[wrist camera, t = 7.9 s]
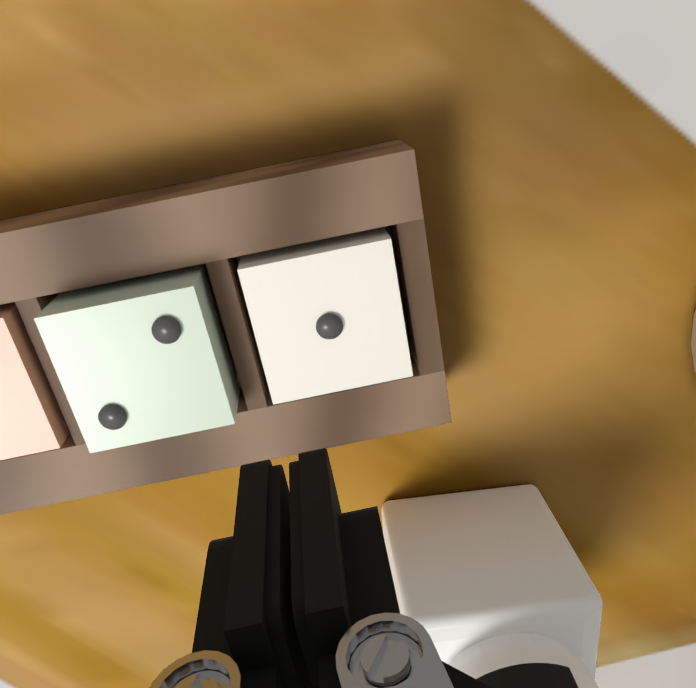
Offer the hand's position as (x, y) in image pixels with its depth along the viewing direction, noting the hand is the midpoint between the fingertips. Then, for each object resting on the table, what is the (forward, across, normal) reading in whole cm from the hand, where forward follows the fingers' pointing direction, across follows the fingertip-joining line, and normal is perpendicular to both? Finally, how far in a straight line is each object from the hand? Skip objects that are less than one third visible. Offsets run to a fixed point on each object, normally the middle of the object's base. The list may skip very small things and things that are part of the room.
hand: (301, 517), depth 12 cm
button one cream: (+12, -1, 0) cm, 12 cm away
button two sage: (+11, +5, 0) cm, 12 cm away
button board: (+13, +5, 0) cm, 14 cm away
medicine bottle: (+13, -5, +14) cm, 20 cm away
